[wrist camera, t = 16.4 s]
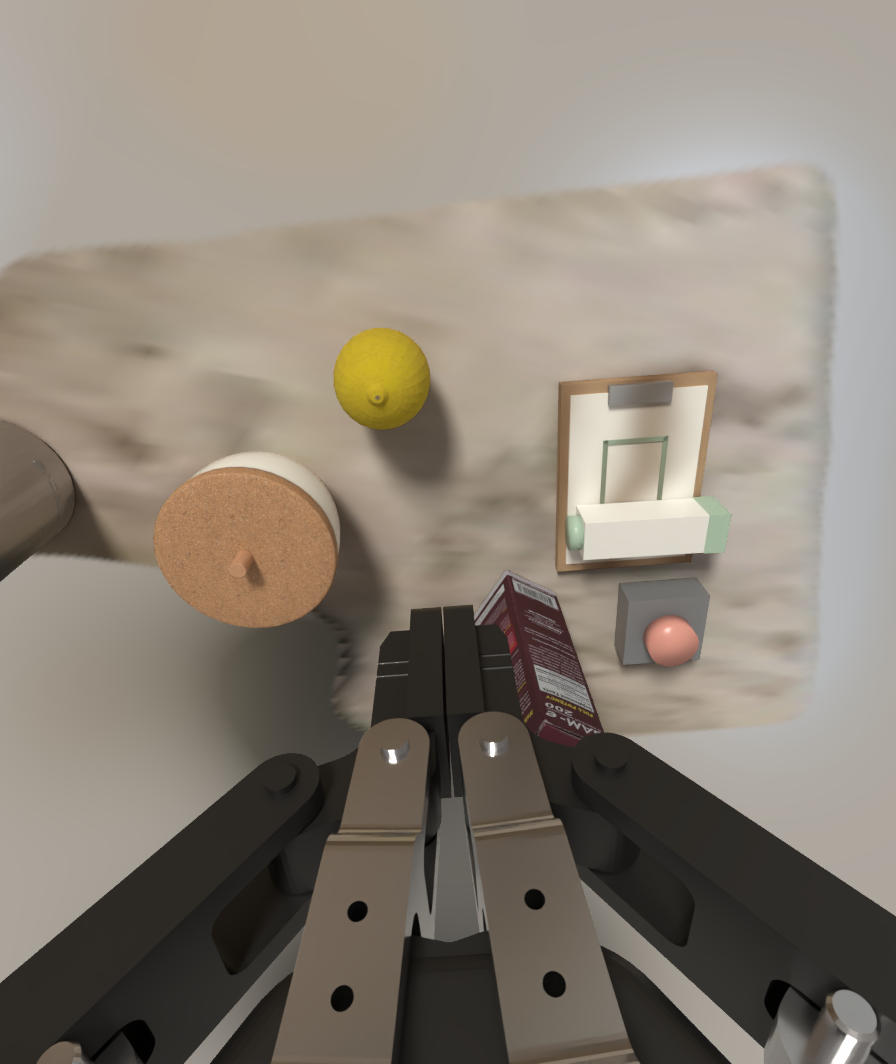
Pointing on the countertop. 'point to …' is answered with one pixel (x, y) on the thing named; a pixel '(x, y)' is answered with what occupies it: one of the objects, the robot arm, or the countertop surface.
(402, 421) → the lemon
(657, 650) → the button
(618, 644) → the button housing
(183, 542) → the lidded jar
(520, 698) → the supplement box
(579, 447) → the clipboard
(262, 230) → the countertop surface
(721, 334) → the countertop surface
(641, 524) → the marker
